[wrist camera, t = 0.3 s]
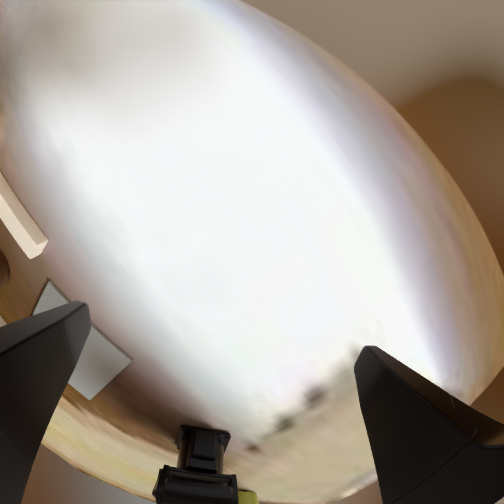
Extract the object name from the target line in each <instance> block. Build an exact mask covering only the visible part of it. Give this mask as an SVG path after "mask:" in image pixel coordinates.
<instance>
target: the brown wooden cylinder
mask: <svg viewBox="0 0 504 504" xmlns="http://www.w3.org/2000/svg"><path fill="white" fill-rule="evenodd" d="M9 278H10V269H9V265H8V261H7V259H6V257H5V255H4V254H3V253H2V251H0V287H1V286H3V285H4V284H6V283H7V282H8V281H9Z"/></svg>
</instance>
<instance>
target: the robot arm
mask: <svg viewBox="0 0 504 504" xmlns="http://www.w3.org/2000/svg"><path fill="white" fill-rule="evenodd" d="M90 330H91V320H90V313H89V306H88V304H87V303H84V302H81V301H73V302H70V303H67V304H64V305H61V306H59V307H56V308H53V309H50V310H47V311H44V312H41V313H38V314H35V315H32V316H30V317H27V318H24V319H21V320H18V321H15V322H12V323H10V324H7V325H4V326H1V327H0V504H21V502H22V498H23V495H24V491H25V488H26V484H27V481H28V478H29V475H30V472H31V469H32V465H33V462H34V460H35V457H36V454H37V451H38V449H39V446H40V444H41V441H42V439H43V436H44V434H45V431H46V429H47V426H48V424H49V422H50V419H51V417H52V415H53V413H54V410H55V408H56V406H57V404H58V402H59V400H60V398H61V395H62V393H63V391H64V389H65V387H66V385H67V383H68V381H69V379H70V377H71V375H72V373H73V371H74V369H75V367H76V365H77V363H78V360H79V357H80V355H81V352H82V350H83V348H84V345H85V343H86V340H87V338H88V336H89V333H90ZM354 373H355V378H356V384H357V390H358V396H359V402H360V407H361V411H362V415H363V419H364V423H365V426H366V430H367V434H368V438H369V442H370V446H371V450H372V455H373V459H374V463H375V468H376V472H377V477H378V481H379V486H380V491H381V496H382V501H383V504H504V424H502V423H500V422H498V421H496V420H494V419H492V418H490V417H488V416H487V415H485V414H483V413H481V412H479V411H477V410H475V409H474V408H472V407H470V406H468V405H467V404H465V403H463V402H462V401H460V400H459V399H457V398H455V397H454V396H452V395H450V394H449V393H448V392H446V391H444V390H443V389H441V388H440V387H438V386H437V385H435V384H434V383H432V382H431V381H429V380H427V379H426V378H424V377H423V376H421V375H420V374H418V373H417V372H415V371H414V370H412V369H410V368H409V367H407V366H406V365H404V364H403V363H401V362H400V361H398V360H397V359H395V358H394V357H392V356H391V355H389V354H388V353H386V352H385V351H383V350H381V349H380V348H378V347H377V346H365V347H363V349H362V351H361V353H360V355H359V357H358V359H357V361H356V363H355V366H354ZM230 438H231V435H230V434H229V433H224V432H217V431H211V430H205V429H200V428H195V427H190V426H185V425H181V426H180V430H179V437H178V444H177V449H178V450H179V456H178V462H177V468H176V467H170V466H169V465H164V467H163V469H159V474H158V479H157V482H156V484H155V486H154V489H153V492H152V495H153V496H154V497H155V498H156V502H157V504H239V498H238V488H237V479H236V475H235V474H232V475H227V474H223V458H224V452H225V450H226V447H227V445H228V443H229V440H230Z"/></svg>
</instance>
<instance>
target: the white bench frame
mask: <svg viewBox="0 0 504 504" xmlns="http://www.w3.org/2000/svg"><path fill="white" fill-rule="evenodd" d="M0 218H1V220H2V221H3V223H4V224H5V226H6V227H7V229H8V230H9V232H10V233H11V234H12V236H13V237H14V239H15V240H16V242H17V243H18V244H19V246H20V247H21V248H22V250H23V251H24V252H25V254H26V255H27V256H28V258H29V259H32V258H34V257H36V256H38V255H40V254H41V253H42V251H43V249H44V247H45V245H46V244H47V242H48V239H47V237H46V236H45V235H44V234H43V232H42V231H41V230H40V229H39V227H38V226H37V225H36V223H35V222H34V221H33V219H32V218H31V217H30V215H29V214H28V213H27V211H26V210H25V208H24V207H23V206H22V204H21V203H20V201H19V200H18V198H17V197H16V195H15V194H14V192H13V191H12V189H11V188H10V186H9V185H8V183H7V182H6V180H5V178H4V177H3V175H2V174H1V172H0ZM4 325H7V323H6V322H5V321H4V319H3V318H2V317H1V316H0V327H1V326H4Z"/></svg>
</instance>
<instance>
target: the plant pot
mask: <svg viewBox="0 0 504 504" xmlns="http://www.w3.org/2000/svg"><path fill="white" fill-rule="evenodd" d="M238 498H239V504H259V501H258V497H257V494H256V493H254V492H251V491H247V492H243V491H239V490H238Z"/></svg>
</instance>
